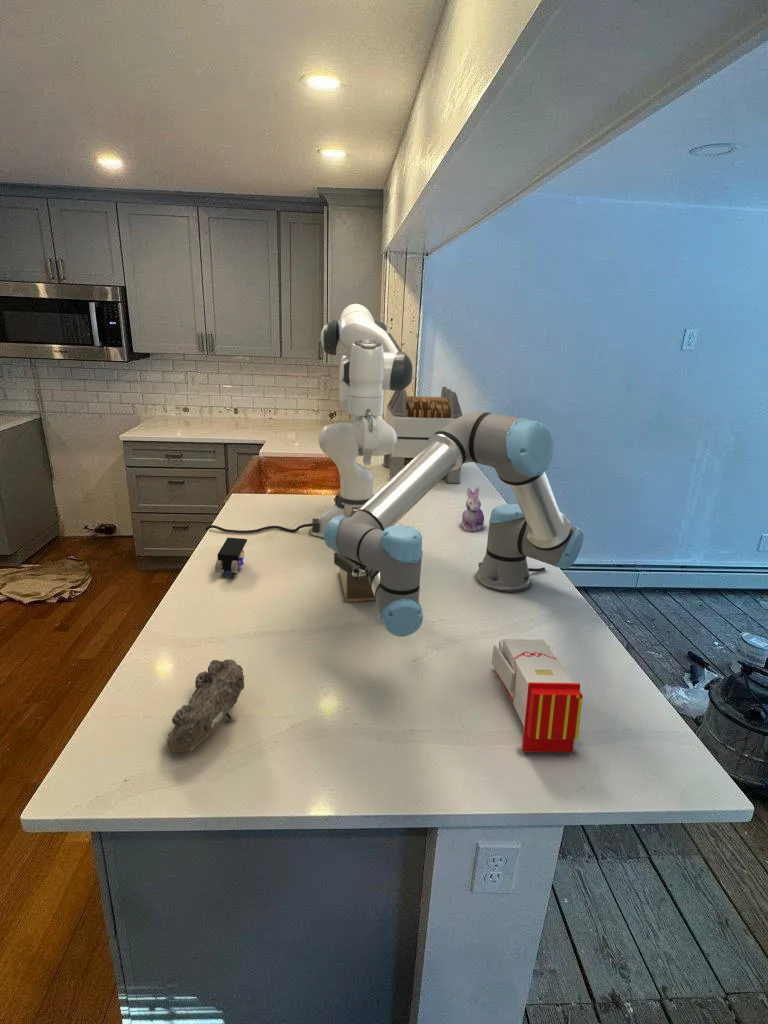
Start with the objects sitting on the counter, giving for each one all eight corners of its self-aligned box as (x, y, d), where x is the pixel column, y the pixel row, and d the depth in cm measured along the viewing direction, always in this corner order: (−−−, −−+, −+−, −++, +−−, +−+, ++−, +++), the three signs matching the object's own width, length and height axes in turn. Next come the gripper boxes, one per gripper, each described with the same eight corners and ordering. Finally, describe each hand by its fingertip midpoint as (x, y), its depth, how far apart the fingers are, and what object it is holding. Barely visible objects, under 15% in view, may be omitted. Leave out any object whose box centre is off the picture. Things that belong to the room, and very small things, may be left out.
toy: (540, 622, 128) (592, 691, 98) (535, 677, 130) (584, 759, 101) (487, 621, 127) (523, 690, 98) (483, 676, 130) (516, 758, 101)
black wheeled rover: (238, 584, 162) (249, 557, 175) (236, 562, 158) (247, 536, 172) (215, 584, 161) (227, 556, 175) (212, 561, 158) (225, 535, 171)
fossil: (192, 660, 117) (244, 628, 112) (224, 691, 120) (276, 661, 115) (142, 746, 98) (202, 712, 93) (182, 779, 101) (242, 748, 96)
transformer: (382, 463, 289) (386, 382, 275) (445, 464, 293) (451, 384, 279) (390, 482, 257) (394, 392, 243) (460, 483, 261) (468, 394, 247)
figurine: (470, 533, 202) (474, 493, 197) (453, 524, 211) (457, 485, 206) (491, 530, 207) (495, 491, 202) (474, 520, 215) (478, 483, 210)
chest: (339, 574, 168) (340, 545, 165) (372, 572, 170) (373, 544, 167) (346, 601, 153) (347, 570, 149) (381, 599, 154) (383, 569, 151)
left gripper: (385, 414, 135) (382, 470, 140) (371, 400, 154) (370, 450, 159) (359, 414, 134) (357, 470, 139) (348, 400, 153) (347, 450, 157)
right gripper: (328, 602, 116) (320, 559, 136) (445, 597, 121) (421, 556, 140) (329, 569, 114) (321, 530, 133) (448, 565, 118) (423, 527, 138)
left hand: (364, 459), depth 149 cm, fingers open, 8 cm apart
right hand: (372, 543), depth 137 cm, fingers open, 13 cm apart
